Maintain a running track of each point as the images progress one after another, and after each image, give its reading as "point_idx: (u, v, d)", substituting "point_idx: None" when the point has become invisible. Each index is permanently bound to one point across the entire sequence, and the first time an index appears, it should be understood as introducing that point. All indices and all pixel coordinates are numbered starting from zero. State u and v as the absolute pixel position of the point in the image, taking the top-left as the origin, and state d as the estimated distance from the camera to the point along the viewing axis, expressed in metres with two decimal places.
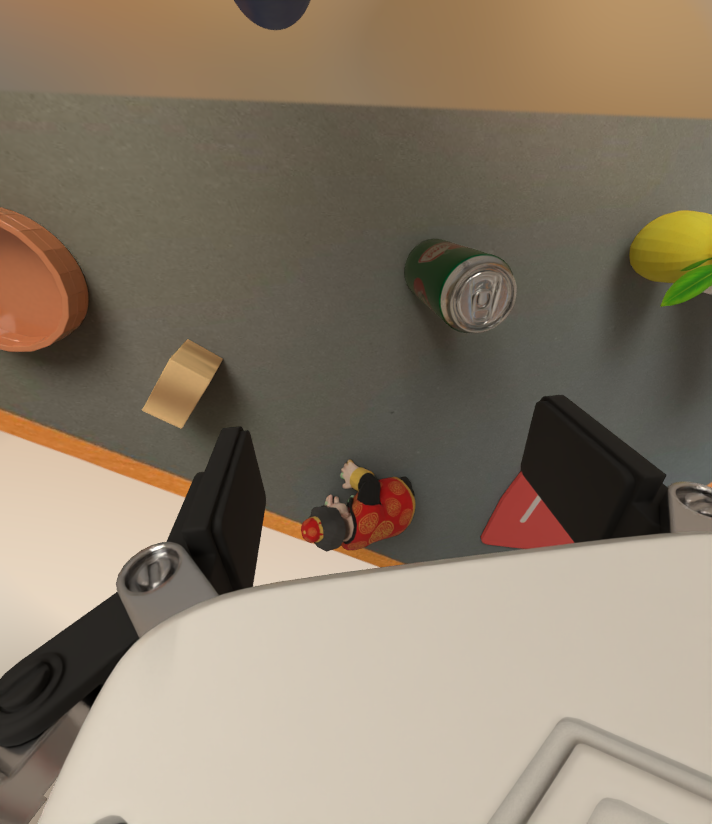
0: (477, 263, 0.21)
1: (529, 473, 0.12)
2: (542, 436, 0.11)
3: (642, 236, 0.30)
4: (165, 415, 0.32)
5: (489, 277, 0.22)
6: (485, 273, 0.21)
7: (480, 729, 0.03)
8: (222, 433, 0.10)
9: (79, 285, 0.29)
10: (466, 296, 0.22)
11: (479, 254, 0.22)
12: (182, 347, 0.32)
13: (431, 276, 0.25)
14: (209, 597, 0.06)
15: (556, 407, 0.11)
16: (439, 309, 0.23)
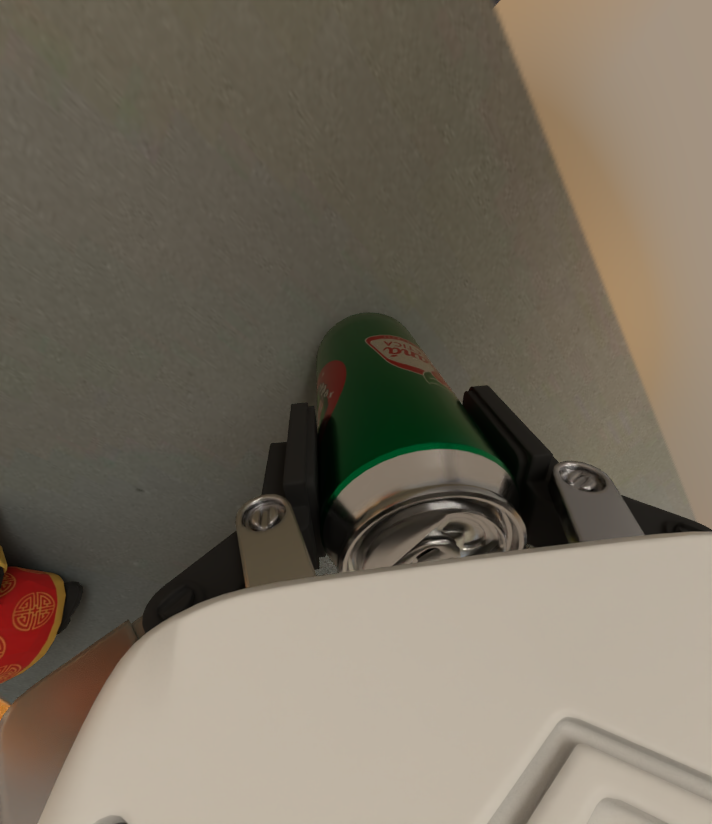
0: (491, 486, 0.07)
1: None
2: None
3: None
4: None
5: (482, 530, 0.08)
6: (489, 522, 0.07)
7: (480, 729, 0.03)
8: (293, 408, 0.11)
9: None
10: (412, 533, 0.07)
11: (502, 462, 0.08)
12: None
13: (372, 396, 0.10)
14: (301, 554, 0.07)
15: (479, 397, 0.11)
16: (331, 490, 0.08)
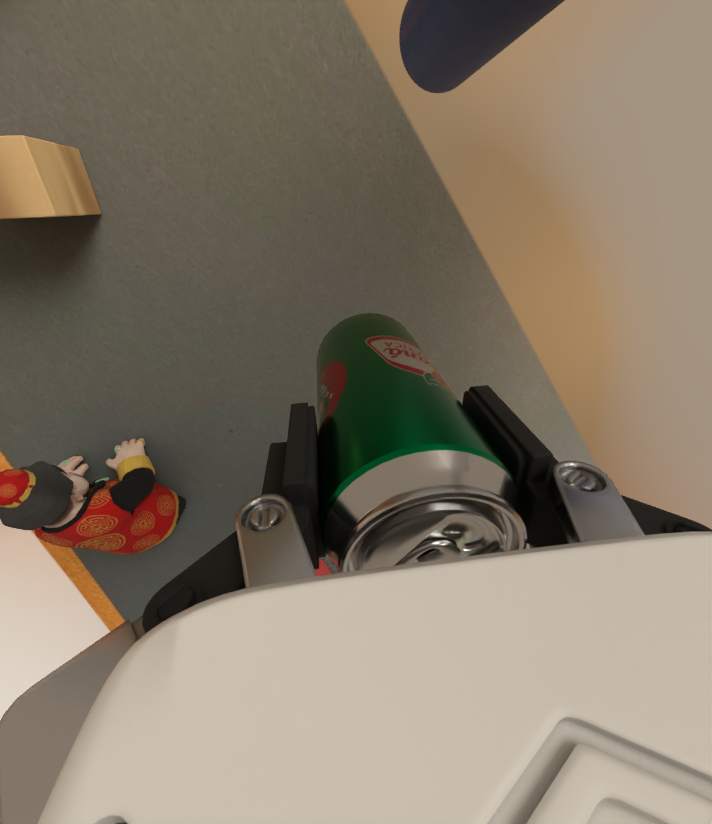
0: (492, 487, 0.07)
1: None
2: None
3: None
4: None
5: (483, 532, 0.08)
6: (489, 523, 0.07)
7: (480, 729, 0.03)
8: (293, 408, 0.11)
9: None
10: (413, 534, 0.07)
11: (502, 463, 0.08)
12: (59, 147, 0.20)
13: (372, 397, 0.10)
14: (301, 554, 0.07)
15: (479, 397, 0.11)
16: (332, 491, 0.08)
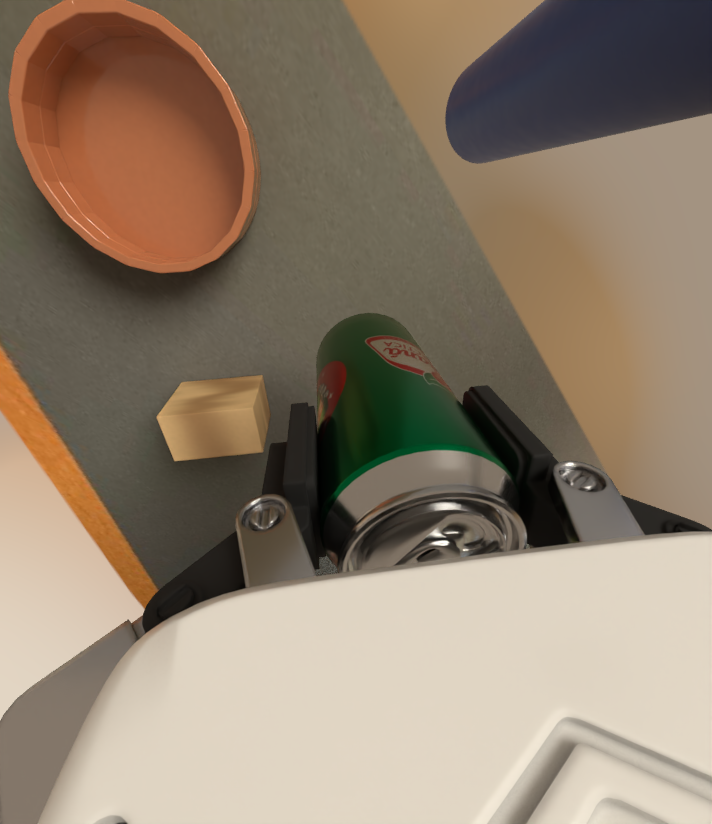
0: (492, 487, 0.07)
1: None
2: None
3: None
4: (175, 440, 0.23)
5: (482, 531, 0.08)
6: (489, 523, 0.07)
7: (480, 729, 0.03)
8: (293, 408, 0.11)
9: (229, 249, 0.21)
10: (412, 534, 0.07)
11: (501, 463, 0.08)
12: (259, 389, 0.25)
13: (372, 397, 0.10)
14: (301, 554, 0.07)
15: (479, 397, 0.11)
16: (331, 491, 0.08)
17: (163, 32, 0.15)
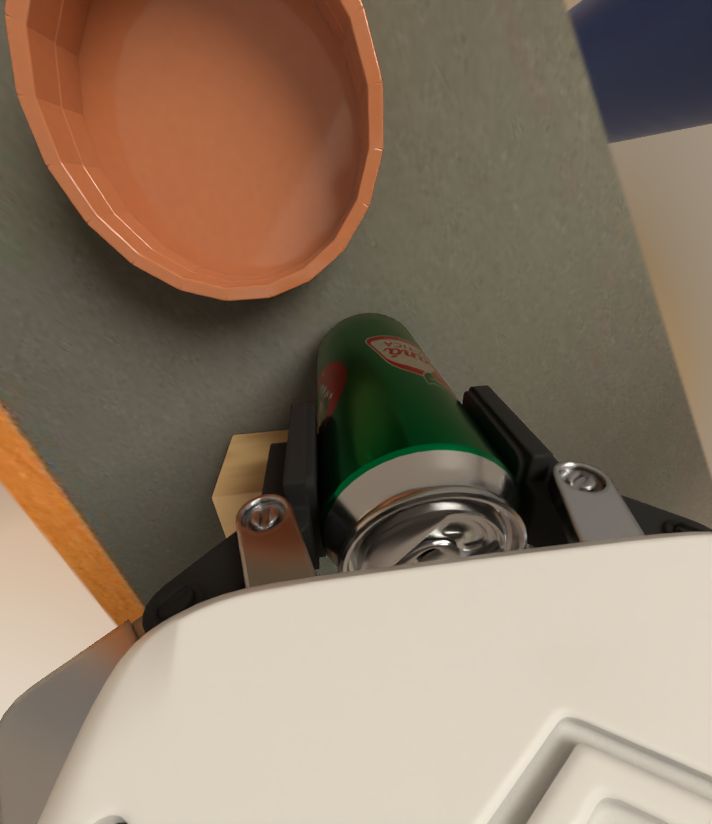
0: (492, 487, 0.07)
1: None
2: None
3: None
4: (234, 525, 0.17)
5: (483, 531, 0.08)
6: (489, 522, 0.07)
7: (480, 729, 0.03)
8: (293, 408, 0.11)
9: None
10: (412, 534, 0.07)
11: (502, 463, 0.08)
12: None
13: (372, 397, 0.10)
14: (301, 554, 0.07)
15: (479, 397, 0.11)
16: (332, 491, 0.08)
17: None
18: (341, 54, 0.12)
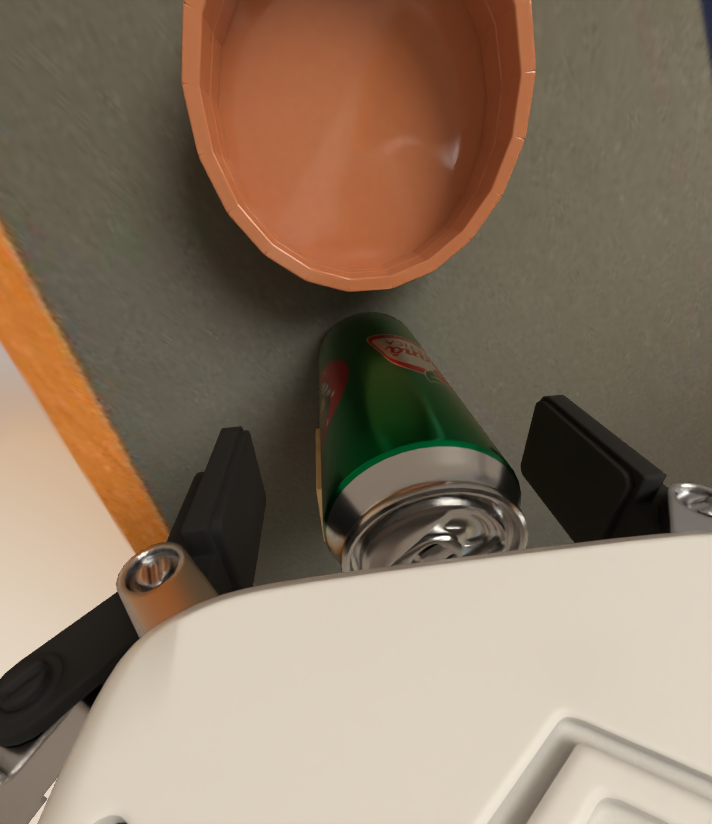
0: (493, 483, 0.08)
1: (529, 473, 0.12)
2: (542, 436, 0.11)
3: None
4: None
5: (484, 527, 0.08)
6: (490, 518, 0.08)
7: (480, 729, 0.03)
8: (222, 433, 0.10)
9: None
10: (415, 529, 0.07)
11: (503, 460, 0.08)
12: None
13: (374, 394, 0.10)
14: (209, 597, 0.06)
15: (557, 407, 0.11)
16: (335, 487, 0.08)
17: None
18: (477, 44, 0.12)
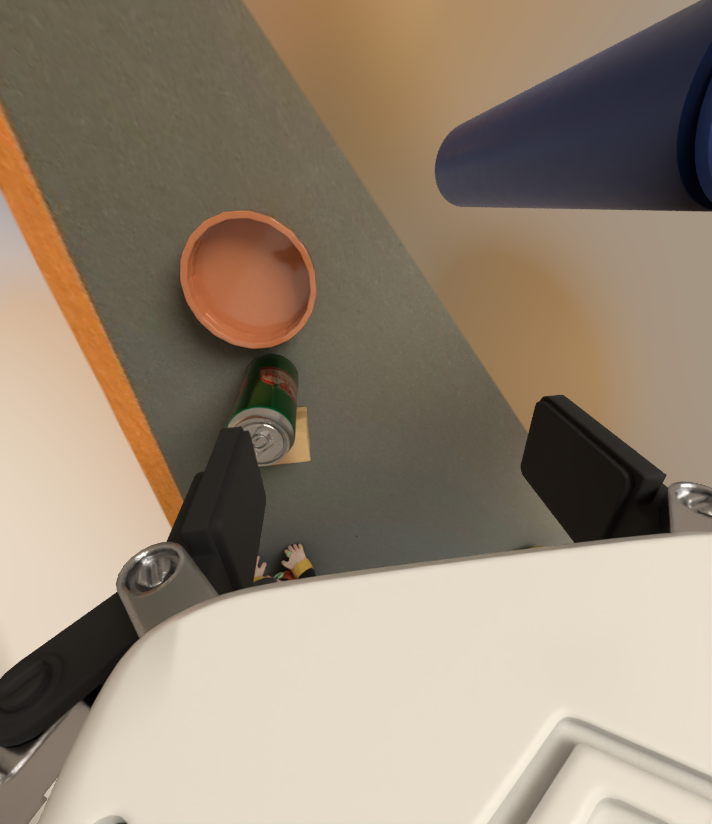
0: (274, 418, 0.25)
1: (530, 473, 0.12)
2: (542, 436, 0.11)
3: None
4: None
5: (275, 433, 0.26)
6: (273, 429, 0.25)
7: (480, 729, 0.03)
8: (222, 433, 0.10)
9: None
10: (249, 431, 0.25)
11: (282, 413, 0.26)
12: (306, 417, 0.36)
13: (249, 392, 0.27)
14: (209, 597, 0.06)
15: (557, 407, 0.11)
16: (229, 421, 0.26)
17: (272, 226, 0.27)
18: None
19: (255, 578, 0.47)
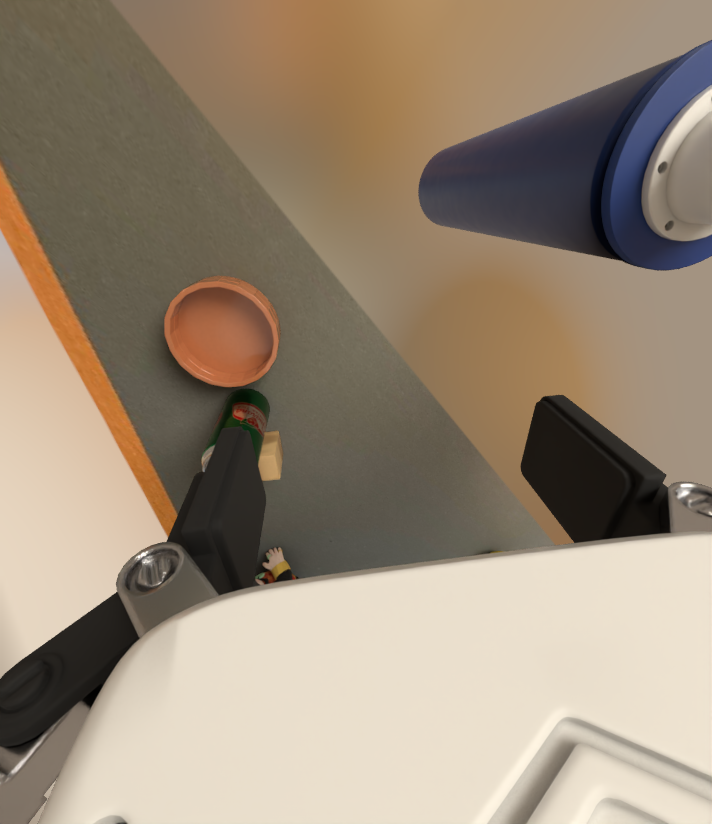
0: None
1: (529, 473, 0.12)
2: (542, 436, 0.11)
3: None
4: None
5: None
6: None
7: (480, 729, 0.03)
8: (222, 433, 0.10)
9: None
10: None
11: None
12: (277, 441, 0.42)
13: (220, 428, 0.33)
14: (209, 597, 0.06)
15: (557, 407, 0.11)
16: None
17: (238, 292, 0.32)
18: None
19: None
